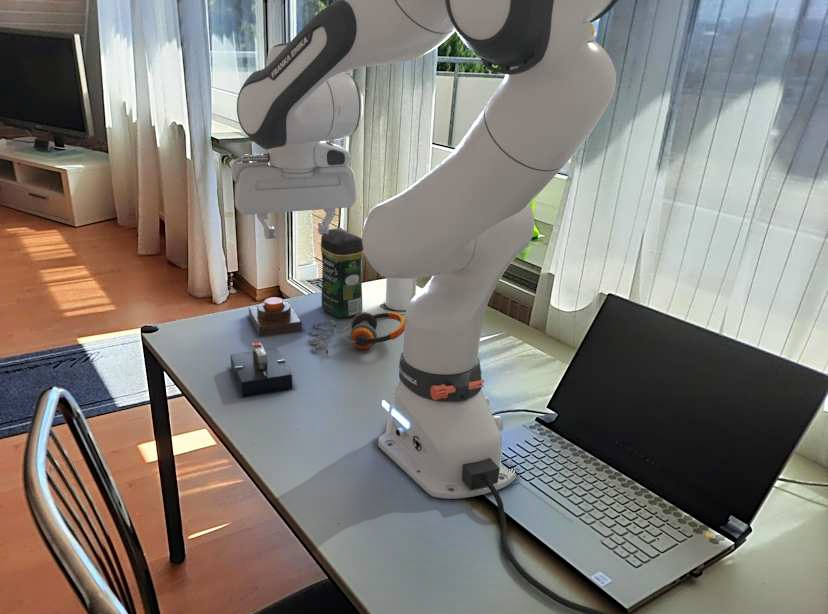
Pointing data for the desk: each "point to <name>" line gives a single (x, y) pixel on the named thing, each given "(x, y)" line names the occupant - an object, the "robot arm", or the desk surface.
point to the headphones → (364, 330)
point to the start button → (273, 304)
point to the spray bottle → (399, 292)
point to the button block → (274, 320)
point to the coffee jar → (341, 273)
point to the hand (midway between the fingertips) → (296, 235)
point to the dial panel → (261, 373)
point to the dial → (259, 356)
